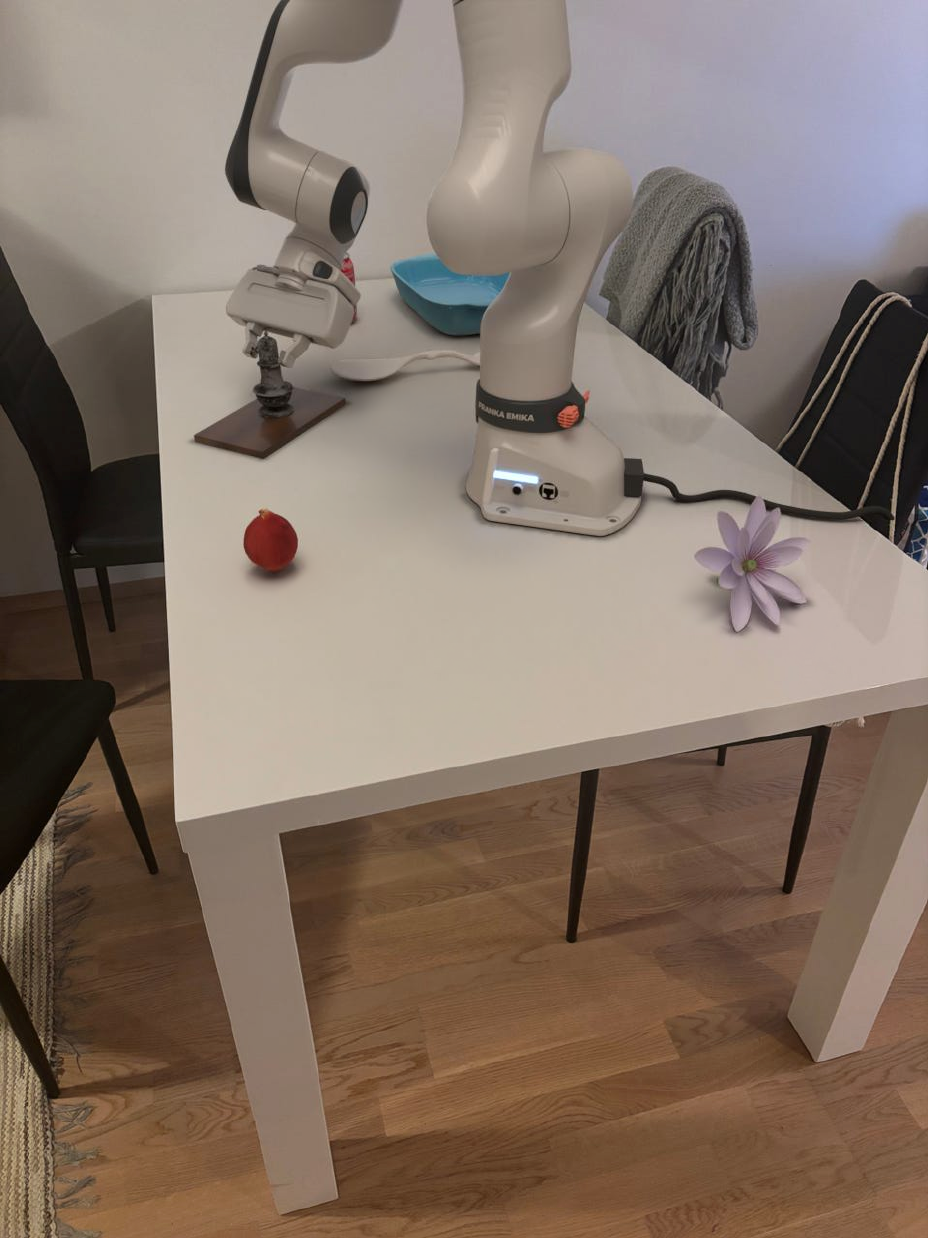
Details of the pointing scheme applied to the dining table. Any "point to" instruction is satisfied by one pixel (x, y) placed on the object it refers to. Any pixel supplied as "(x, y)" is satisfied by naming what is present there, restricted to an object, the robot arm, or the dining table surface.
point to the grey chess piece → (272, 381)
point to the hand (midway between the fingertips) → (266, 360)
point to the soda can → (349, 276)
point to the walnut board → (269, 424)
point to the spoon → (389, 364)
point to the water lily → (754, 563)
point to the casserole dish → (446, 293)
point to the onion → (270, 541)
